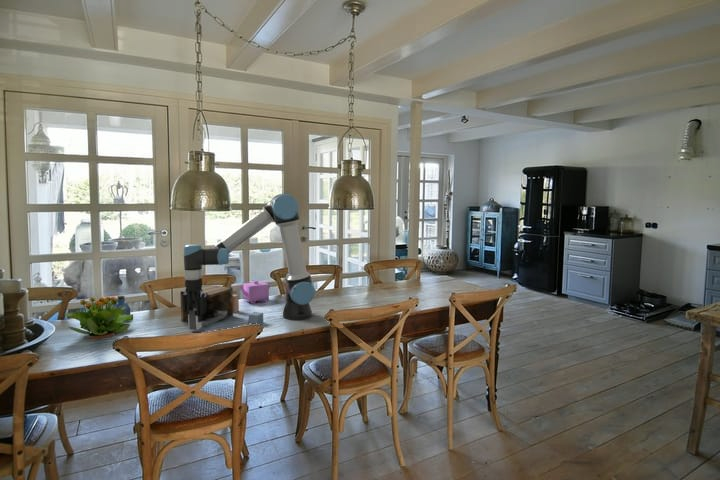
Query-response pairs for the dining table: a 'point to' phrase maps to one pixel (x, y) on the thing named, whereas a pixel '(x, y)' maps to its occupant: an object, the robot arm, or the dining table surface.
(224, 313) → the dark grey angular block
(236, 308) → the l-shaped block
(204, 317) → the mug
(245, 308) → the dining table surface
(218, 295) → the shelf
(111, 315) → the potted flower
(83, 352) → the dining table surface
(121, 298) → the perfume bottle
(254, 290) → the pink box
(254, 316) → the cube
